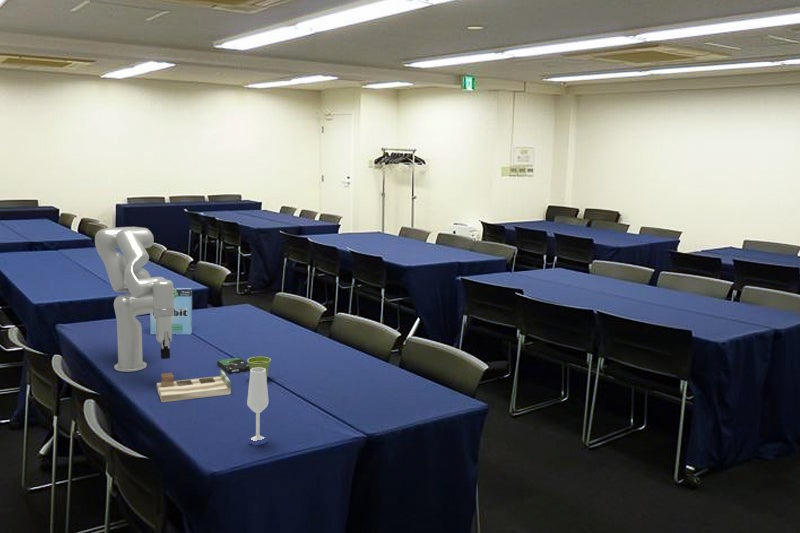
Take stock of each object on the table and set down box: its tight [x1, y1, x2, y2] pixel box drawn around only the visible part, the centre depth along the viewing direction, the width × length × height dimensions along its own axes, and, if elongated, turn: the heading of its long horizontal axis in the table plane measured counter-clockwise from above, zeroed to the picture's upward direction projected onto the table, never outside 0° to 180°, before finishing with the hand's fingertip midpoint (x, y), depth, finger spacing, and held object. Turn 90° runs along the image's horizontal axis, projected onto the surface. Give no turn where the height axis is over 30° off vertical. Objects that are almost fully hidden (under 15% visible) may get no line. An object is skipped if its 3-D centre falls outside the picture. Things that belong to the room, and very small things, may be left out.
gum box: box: [149, 287, 193, 336], centre depth 336 cm, size 20×5×23 cm, turn 99°
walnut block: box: [160, 372, 175, 387], centre depth 258 cm, size 4×4×4 cm
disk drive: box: [216, 356, 250, 375], centre depth 289 cm, size 10×3×15 cm
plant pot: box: [246, 356, 272, 379], centre depth 274 cm, size 9×9×9 cm
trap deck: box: [156, 369, 232, 403], centre depth 259 cm, size 15×25×5 cm, turn 116°
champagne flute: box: [246, 367, 270, 441], centre depth 216 cm, size 7×7×24 cm
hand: (165, 358), depth 264 cm, fingers closed
